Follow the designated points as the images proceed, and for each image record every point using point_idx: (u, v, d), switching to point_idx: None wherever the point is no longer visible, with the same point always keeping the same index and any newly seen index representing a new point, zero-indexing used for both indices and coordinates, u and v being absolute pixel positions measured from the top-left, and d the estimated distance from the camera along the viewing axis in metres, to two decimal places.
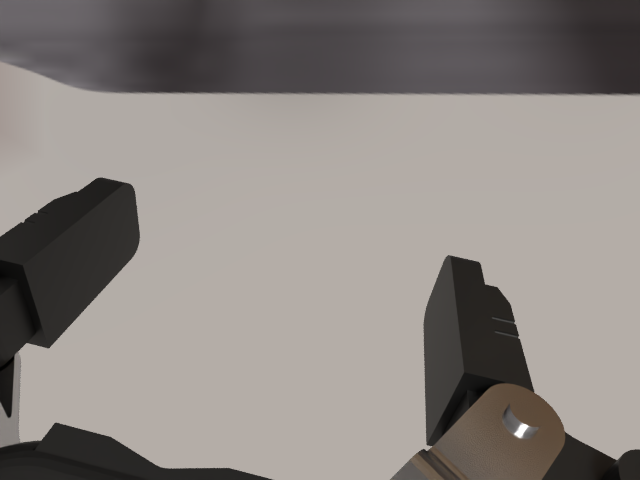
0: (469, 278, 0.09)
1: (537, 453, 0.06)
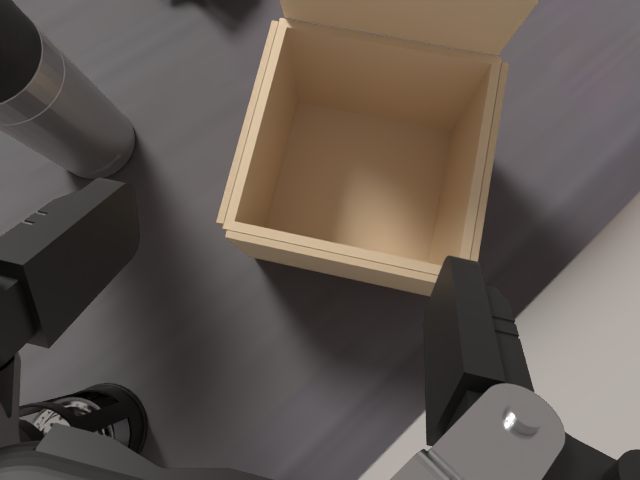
0: (469, 278, 0.09)
1: (537, 453, 0.06)
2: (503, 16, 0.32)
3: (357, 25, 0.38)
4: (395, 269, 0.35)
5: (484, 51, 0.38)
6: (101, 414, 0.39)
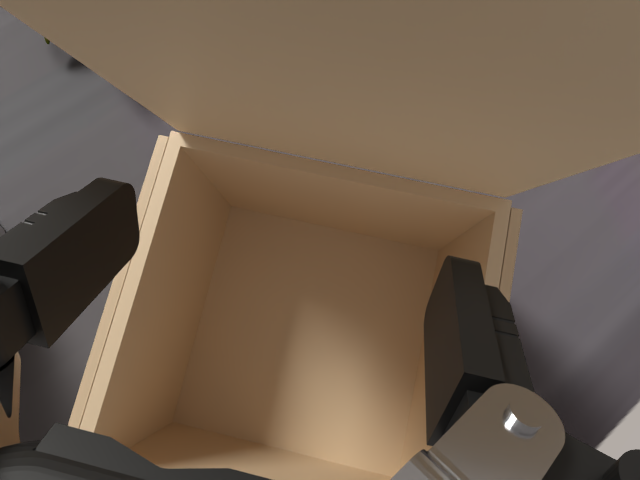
0: (469, 278, 0.09)
1: (537, 453, 0.06)
2: (518, 173, 0.19)
3: (286, 149, 0.24)
4: None
5: (484, 192, 0.24)
6: None
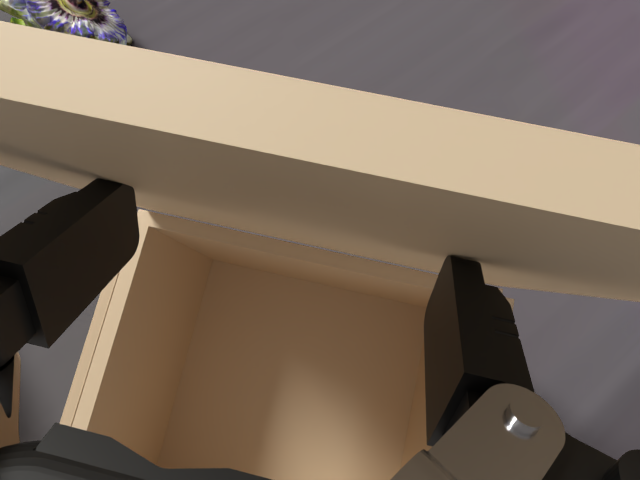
0: (469, 278, 0.09)
1: (537, 453, 0.06)
2: (508, 282, 0.17)
3: (260, 233, 0.23)
4: None
5: None
6: None
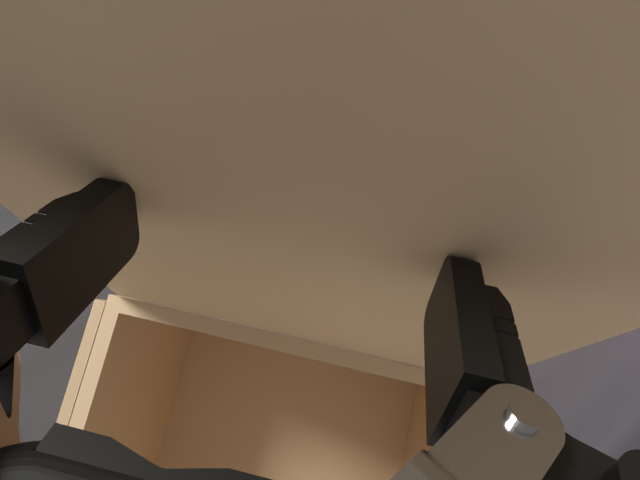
0: (469, 278, 0.09)
1: (537, 453, 0.06)
2: None
3: (237, 318, 0.22)
4: None
5: None
6: None
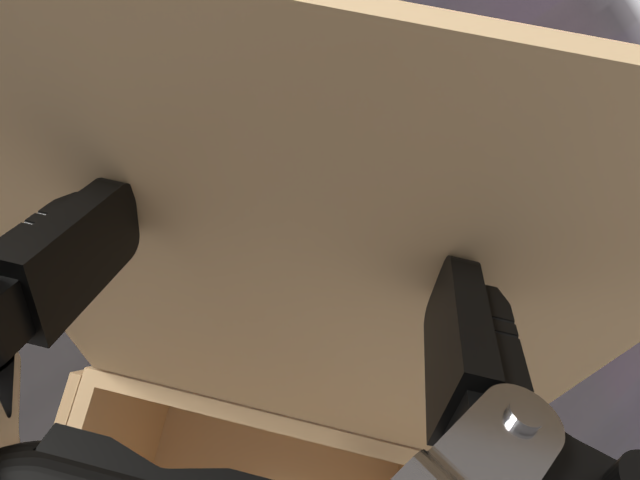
0: (469, 278, 0.09)
1: (537, 453, 0.06)
2: None
3: (216, 392, 0.21)
4: None
5: None
6: None
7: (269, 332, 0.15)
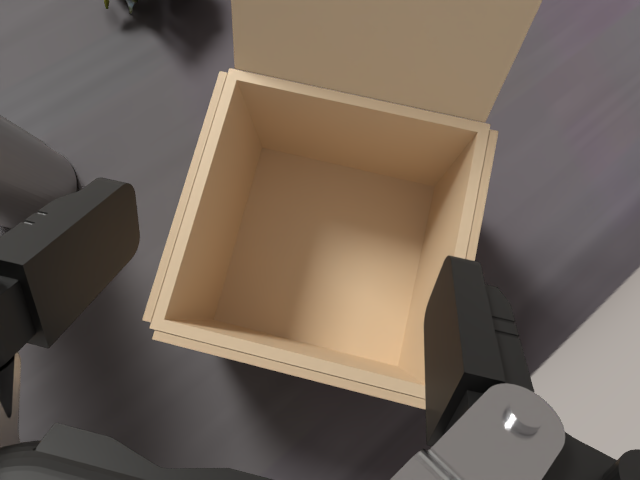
0: (469, 278, 0.09)
1: (537, 453, 0.06)
2: (497, 39, 0.28)
3: (321, 76, 0.32)
4: (354, 385, 0.29)
5: (469, 115, 0.32)
6: None
7: None
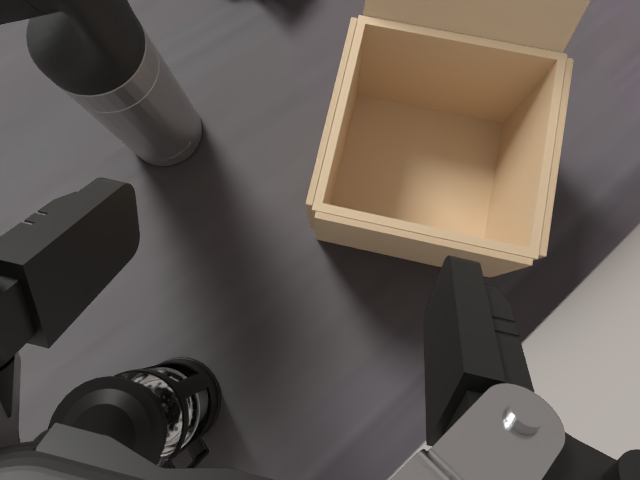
0: (469, 278, 0.09)
1: (537, 453, 0.06)
2: None
3: (433, 18, 0.41)
4: (472, 248, 0.38)
5: (550, 46, 0.41)
6: (190, 382, 0.43)
7: None
